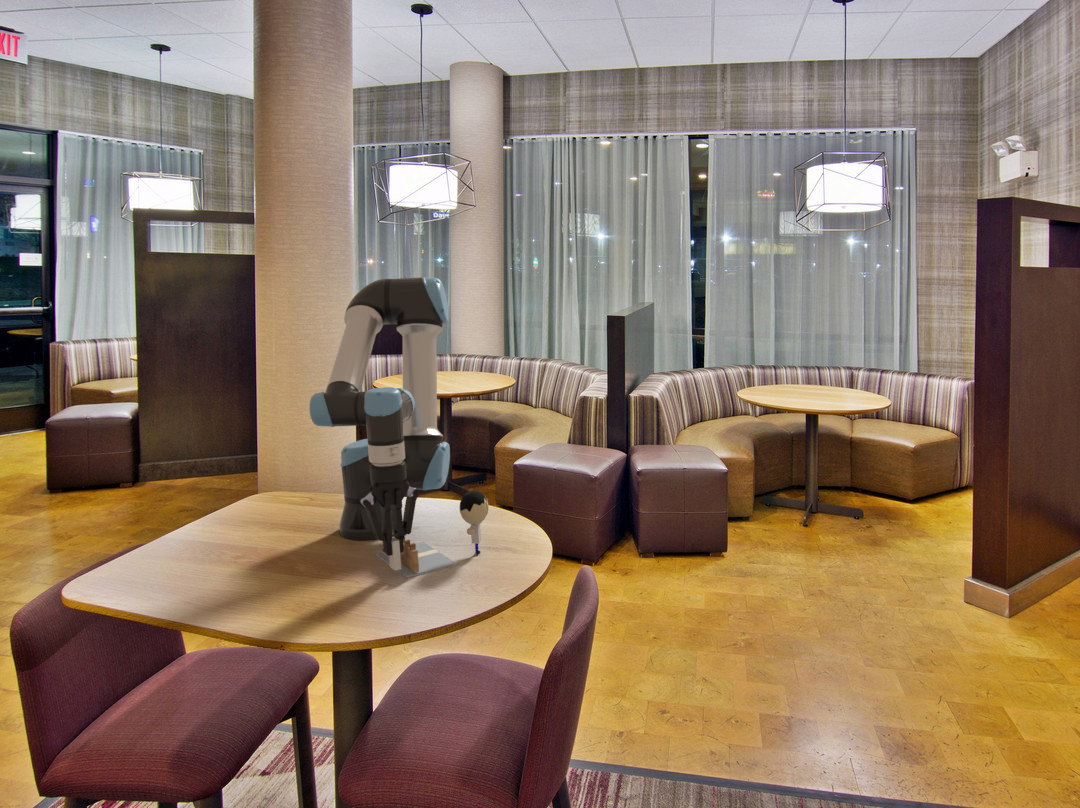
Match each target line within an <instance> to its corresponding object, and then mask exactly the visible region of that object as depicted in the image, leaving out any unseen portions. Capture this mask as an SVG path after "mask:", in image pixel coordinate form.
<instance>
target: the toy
mask: <svg viewBox="0 0 1080 808" xmlns="http://www.w3.org/2000/svg"><path fill="white" fill-rule="evenodd" d="M488 501H489V500H488V498H487V497H486V495H485V494H484V493H483V492H481V491H479V490H469V491H467V492H466V493H465V494H464V495H463V496H462V497H461V500H460V502H459V514H460V515H461V518H462V520H464V522H466V523H467V524H469V525H470V526H469V527H468V528H467V529H466V533H467V534H468V535H470V536H471V538H470V539H471V544H474V547H475V552H474V554H475V555H480V554H481V550H479V544H480V543H481V541H482V536H481V535H482V534H481V524H482V523H483V521H485V519H486V517H487V516H488V514H489V506H490V505H489V502H488Z"/></svg>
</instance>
